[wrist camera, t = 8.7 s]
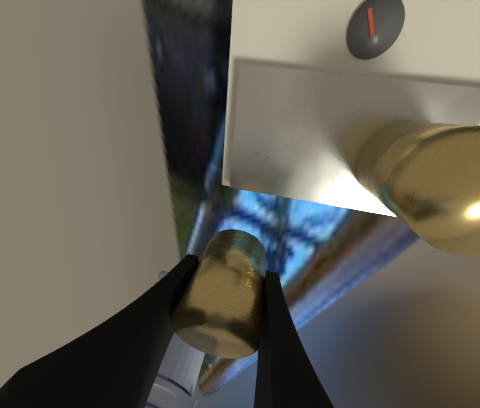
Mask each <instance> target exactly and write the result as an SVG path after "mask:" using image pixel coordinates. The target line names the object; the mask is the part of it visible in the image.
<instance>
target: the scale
mask: <svg viewBox="0 0 480 408" xmlns="http://www.w3.org/2000/svg"><path fill="white" fill-rule="evenodd" d="M240 64H249V65H259V66H269V67H279V68H289V69H298V70H308V71H318V72H328V73H338V74H348V75H358V76H368V77H378V78H388V79H398V80H408V81H418V82H428V83H438V84H448V85H457V86H467V87H477V88H480V0H233V8H232V24H231V41H230V58H229V74H228V91H227V108H226V125H225V141H224V158H223V175H222V185H226V186H230V176H231V164H232V152H233V140H234V128H235V116H236V104H237V92H238V80H239V68H240ZM478 126H480V123H479V125H478Z"/></svg>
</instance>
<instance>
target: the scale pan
mask: <svg viewBox="0 0 480 408" xmlns="http://www.w3.org/2000/svg"><path fill="white" fill-rule="evenodd" d="M409 121H416V122H430V123H445V124H459V125H473V126H478V125H479V123H480V88H477V87H467V86H457V85H448V84H438V83H428V82H418V81H408V80H398V79H388V78H378V77H368V76H358V75H348V74H338V73H328V72H318V71H308V70H298V69H289V68H279V67H269V66H259V65H249V64H240V68H239V80H238V92H237V104H236V116H235V128H234V140H233V152H232V164H231V176H230V188H235V189H241V190H247V191H253V192H258V193H264V194H270V195H276V196H282V197H287V198H293V199H299V200H305V201H310V202H316V203H322V204H328V205H334V206H339V207H345V208H351V209H357V210H362V211H368V212H374V213H380V214H386V215H391V216H395V215H394V214H393V213H392V212H391V211H389V210H388V209H387V208H386V207H385V206H384V205H382V204H381V203H380V202H379V201H378V200H377V199H375V198H374V197H373V196H372V195H371V194H370V193H368V192H367V191H366V190H365V189H364V188H363V187H362V186H361V185H360V184H359V182H358V180H357V178H356V173H355V166H356V161H357V158H358V155H359V153H360V151H361V150H362V148H363V147H364V145H365V144H366V143H367V142H368V141H369V140H370V139H371V138H372V137H373V136H374V135H375V134H377V133H378V132H380V131H381V130H383V129H385V128H387V127H389V126H391V125H394V124H397V123H401V122H409Z"/></svg>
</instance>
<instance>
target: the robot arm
mask: <svg viewBox="0 0 480 408" xmlns="http://www.w3.org/2000/svg"><path fill="white" fill-rule="evenodd" d="M197 265H198V256H195V255H190V254H188V255H186V256H185V257H184V258H183V259H182V260H181V261H180V262H179V263H178V264H177V265H176V266H175V267H174V268H173V269H172V270H171V271H170V272H164V271H161V272H160V274H159V279H160V281H159V282H157V283H156V284H155V285H154V286H153V287H151V288H150V289H149V290H148V291H146V292H145V293H144V294H143V295H142V296H140V297H139V298H138V299H136V300H135V301H134V302H132V303H131V304H129V305H128V306H127V307H126V308H124V309H123V310H121V311H120V312H118V313H117V314H115V315H114V316H112V317H111V318H109V319H108V320H106V321H105V322H103V323H101V324H100V325H98V326H97V327H95V328H93V329H92V330H90V331H88V332H87V333H85V334H83V335H82V336H80V337H78V338H76V339H75V340H73V341H71V342H70V343H68V344H66V345H64V346H63V347H61V348H59V349H57V350H55V351H54V352H52V353H50V354H48V355H46V356H44V357H42V358H40V359H38V360H36V361H34V362H33V363H31V364H29V365H27V366H25V367H23V368H21V369H20V370H18V372H16V373H15V374H14V375H13V376H12V377H11V378H10V379H9V380H8V381H7V382H6V383H5V384H4V385H3V386H2V387H1V388H0V408H195V405H196V402H197V399H195V398H193V397H192V395H193V392H194V388H195V385H196V382H197V378H198V375H199V371H200V368H201V365H202V361H203V358H204V354H205V353H204V352H201V351H199V350H197V349H195V348H193V347H191V346H190V345H188V344H187V343H185V342H184V341H183V340H181V339H180V338H179V337H178V336H177V334H176V333H175V332H174V330H173V328H172V325H171V317H172V315H173V313H174V311H175V309H176V307H177V305H178V303H179V301H180V299H181V297H182V295H183V293H184V291H185V289H186V287H187V285H188V283H189V281H190V279H191V277H192V275H193V273H194V271H195V269H196V267H197ZM254 408H334V407H333V405H332V403H331V401H330V399H329V397H328V395H327V394H326V392H325V390H324V388H323V386H322V384H321V382H320V381H319V379H318V377H317V375H316V373H315V371H314V369H313V367H312V365H311V363H310V361H309V358H308V356H307V354H306V352H305V350H304V348H303V345H302V343H301V341H300V339H299V336H298V334H297V331H296V329H295V326H294V324H293V321H292V318H291V315H290V313H289V310H288V307H287V304H286V301H285V298H284V294H283V291H282V287H281V283H280V278H279V275H278V273H274V272H269V271H267V272H266V276H265V281H264V295H263V309H262V322H261V336H260V346H259V348H258V365H257V378H256V389H255V399H254Z"/></svg>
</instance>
